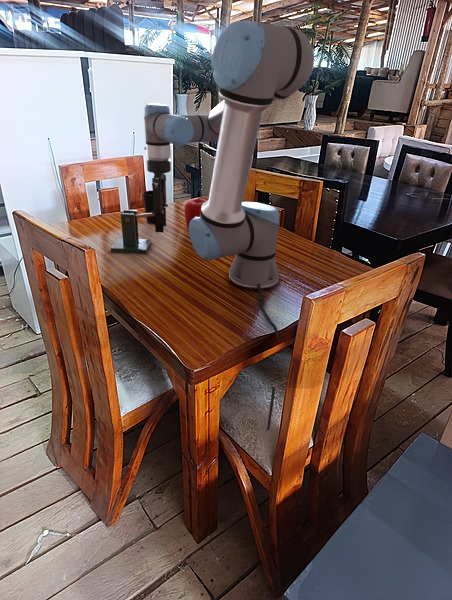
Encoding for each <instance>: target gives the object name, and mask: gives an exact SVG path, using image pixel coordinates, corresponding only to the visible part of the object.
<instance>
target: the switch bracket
mask: <svg viewBox="0 0 452 600" xmlns="http://www.w3.org/2000/svg"><path fill="white" fill-rule="evenodd" d="M132 212H133V214H128V213H132ZM137 214H138V210H137V209H123V212H121V213H120V223H121V235H122V237H117V238H116V239H115V241H114V243H113V244H112V246H111V247H110V253H120V254H141V255H142V254H144V255H146V254H147V253H148V250H149V249H150V247H151V245H152V239H149V238H140V236H139V221H138V218H135V215H137Z"/></svg>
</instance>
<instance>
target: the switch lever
mask: <svg viewBox="0 0 452 600" xmlns="http://www.w3.org/2000/svg"><path fill="white" fill-rule="evenodd" d="M162 211H163V213H164V209H162ZM128 214H133V212H132V213H128ZM150 216H155V214H152V213H137V215H135V218H137V219H140V218H146V217H150Z"/></svg>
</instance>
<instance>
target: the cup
mask: <svg viewBox="0 0 452 600" xmlns="http://www.w3.org/2000/svg"><path fill="white" fill-rule="evenodd" d="M142 198H143V199H142V200H143V207H144V212H145V213H152V212H153V190H144V191H143V192H142ZM145 219H146V223H147V224H149V225H155V216H150V217H145Z"/></svg>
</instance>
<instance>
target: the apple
mask: <svg viewBox="0 0 452 600" xmlns="http://www.w3.org/2000/svg"><path fill="white" fill-rule="evenodd" d="M207 201H208V200H206V199H203V198H199V197H198V198H193V199H189V200H187V201H186V203H185V204H184V210H183V211H184V219H185V225H186V229H187V230H188V231H189V224H190V221H191V220H192V219H193V218H195V217H200V212H201V207H202V205H203V204H204V203H205V202H207Z"/></svg>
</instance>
